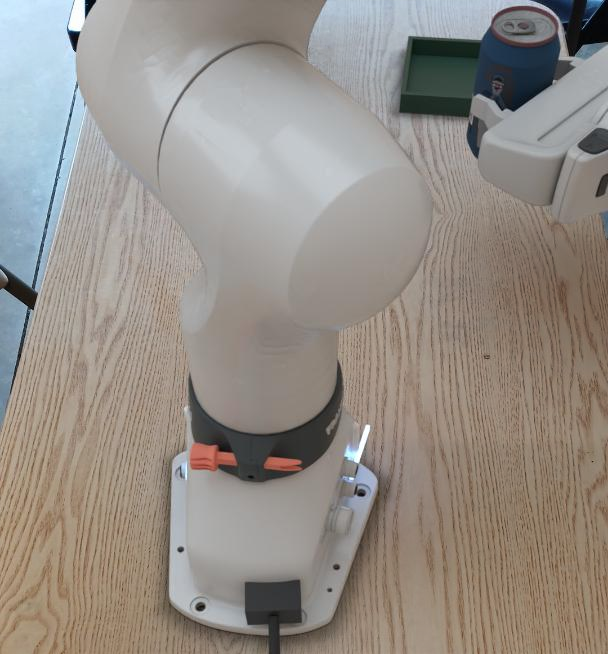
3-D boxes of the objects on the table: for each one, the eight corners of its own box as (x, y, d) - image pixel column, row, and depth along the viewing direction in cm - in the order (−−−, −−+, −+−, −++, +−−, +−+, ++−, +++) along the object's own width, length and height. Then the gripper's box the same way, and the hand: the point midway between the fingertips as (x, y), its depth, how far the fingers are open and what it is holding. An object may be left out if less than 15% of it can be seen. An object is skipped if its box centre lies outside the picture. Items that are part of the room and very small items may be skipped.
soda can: (532, 127, 83) (561, 1, 73) (539, 172, 80) (570, 47, 69) (462, 127, 84) (481, 1, 73) (466, 172, 80) (487, 47, 70)
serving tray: (499, 119, 101) (503, 100, 98) (399, 112, 102) (400, 93, 99) (502, 60, 106) (505, 41, 104) (406, 54, 107) (408, 35, 105)
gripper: (713, 58, 72) (581, -2, 77) (571, 170, 65) (436, 96, 70) (686, 125, 77) (564, 66, 82) (552, 235, 71) (428, 162, 76)
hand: (504, 80), depth 76 cm, fingers closed on soda can, 7 cm apart
